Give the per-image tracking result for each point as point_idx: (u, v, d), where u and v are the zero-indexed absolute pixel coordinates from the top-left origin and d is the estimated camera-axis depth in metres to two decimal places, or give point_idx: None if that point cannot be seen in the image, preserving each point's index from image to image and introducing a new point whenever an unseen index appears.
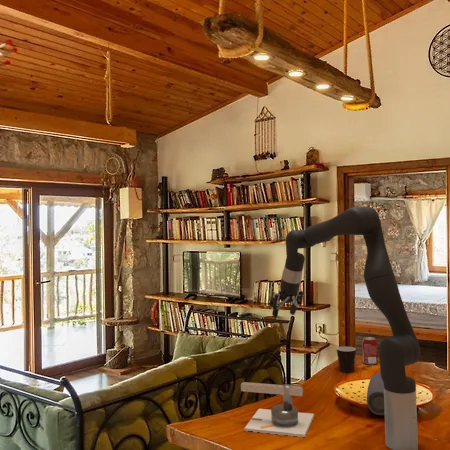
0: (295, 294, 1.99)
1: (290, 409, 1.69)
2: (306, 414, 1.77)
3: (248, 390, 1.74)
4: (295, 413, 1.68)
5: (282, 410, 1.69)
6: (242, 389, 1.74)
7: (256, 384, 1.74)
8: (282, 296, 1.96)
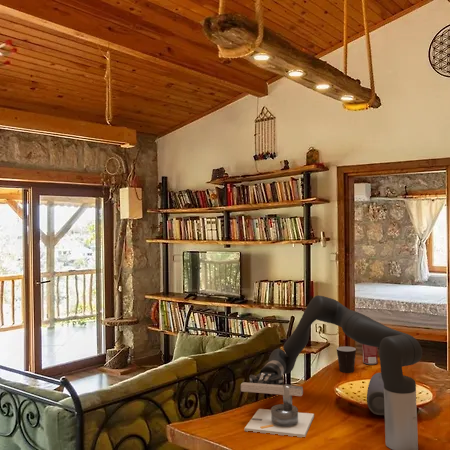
0: (275, 375, 1.84)
1: (290, 409, 1.69)
2: (306, 414, 1.77)
3: (248, 390, 1.74)
4: (295, 413, 1.68)
5: (282, 410, 1.69)
6: (242, 389, 1.74)
7: (256, 384, 1.74)
8: (258, 374, 1.85)
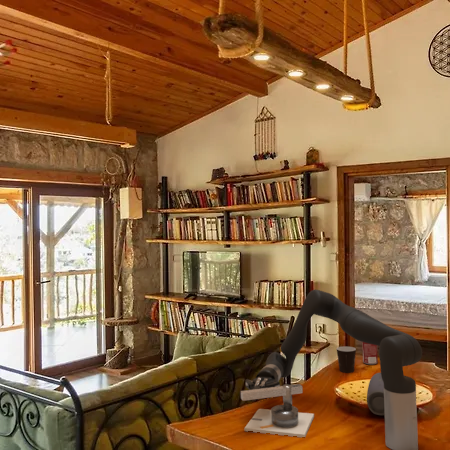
0: (271, 380, 1.78)
1: (292, 408, 1.70)
2: (306, 414, 1.77)
3: (250, 398, 1.66)
4: None
5: (285, 411, 1.69)
6: (244, 398, 1.65)
7: (257, 390, 1.67)
8: (254, 379, 1.80)
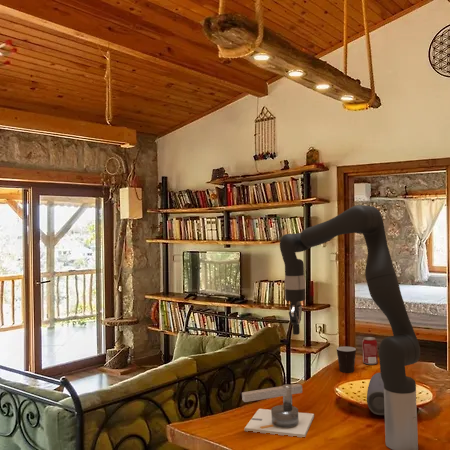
0: (299, 303, 1.90)
1: (292, 408, 1.70)
2: (306, 414, 1.77)
3: (252, 399, 1.65)
4: None
5: (286, 411, 1.68)
6: (246, 400, 1.64)
7: (258, 391, 1.67)
8: (296, 307, 1.84)
